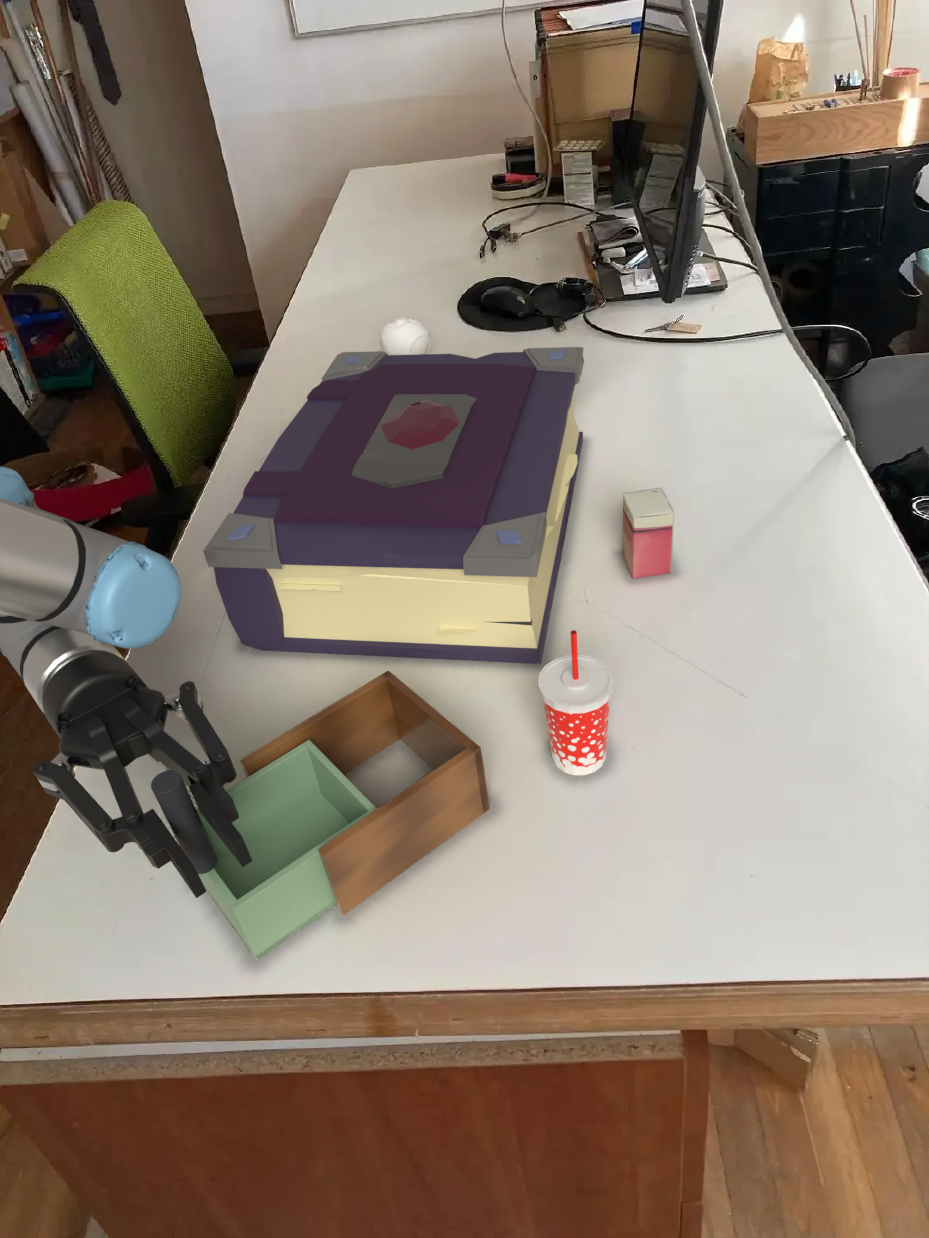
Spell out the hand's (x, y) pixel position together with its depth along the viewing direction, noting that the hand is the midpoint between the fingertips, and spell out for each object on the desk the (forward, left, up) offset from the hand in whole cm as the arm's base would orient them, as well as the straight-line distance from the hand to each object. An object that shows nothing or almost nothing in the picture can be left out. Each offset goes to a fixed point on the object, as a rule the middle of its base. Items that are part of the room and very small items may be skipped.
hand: (218, 866), depth 61 cm
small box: (+49, +28, -12) cm, 58 cm away
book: (+30, +47, -12) cm, 57 cm away
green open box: (+4, +7, -12) cm, 14 cm away
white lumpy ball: (+44, +92, -12) cm, 103 cm away
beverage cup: (+30, +7, -12) cm, 33 cm away
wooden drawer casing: (+12, +9, -12) cm, 19 cm away
